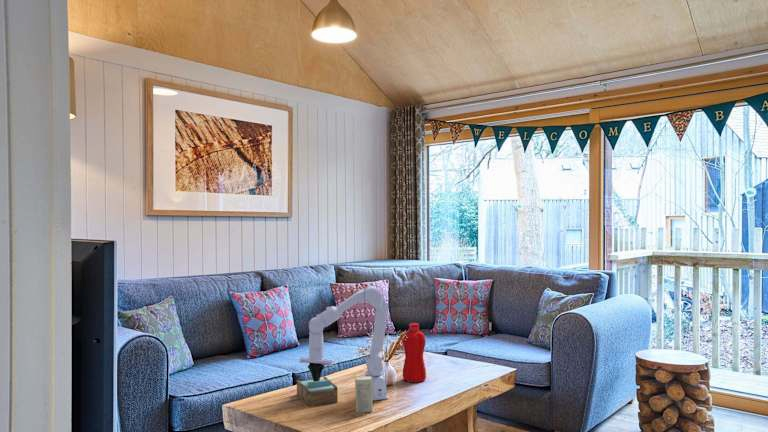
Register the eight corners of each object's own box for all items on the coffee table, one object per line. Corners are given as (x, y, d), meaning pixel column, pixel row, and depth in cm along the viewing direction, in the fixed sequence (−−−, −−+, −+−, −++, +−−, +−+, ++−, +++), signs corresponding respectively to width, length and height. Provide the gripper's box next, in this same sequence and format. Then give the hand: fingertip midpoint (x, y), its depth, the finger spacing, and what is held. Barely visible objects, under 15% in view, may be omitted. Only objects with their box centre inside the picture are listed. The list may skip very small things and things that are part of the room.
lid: (334, 389, 225) (334, 382, 225) (309, 392, 221) (309, 385, 221) (323, 379, 238) (323, 373, 238) (299, 382, 234) (299, 376, 234)
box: (337, 402, 225) (337, 386, 225) (307, 406, 220) (307, 390, 220) (325, 390, 239) (325, 376, 239) (296, 394, 235) (296, 379, 235)
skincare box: (372, 408, 217) (372, 375, 217) (372, 412, 213) (372, 379, 213) (355, 408, 217) (355, 376, 217) (355, 412, 213) (355, 379, 213)
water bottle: (396, 379, 256) (396, 323, 256) (417, 376, 261) (417, 320, 261) (407, 384, 248) (406, 326, 248) (428, 381, 253) (428, 324, 253)
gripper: (337, 347, 230) (337, 381, 230) (306, 344, 236) (306, 377, 236) (328, 351, 224) (328, 386, 224) (296, 348, 230) (296, 382, 230)
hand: (316, 382), depth 230 cm, fingers closed
